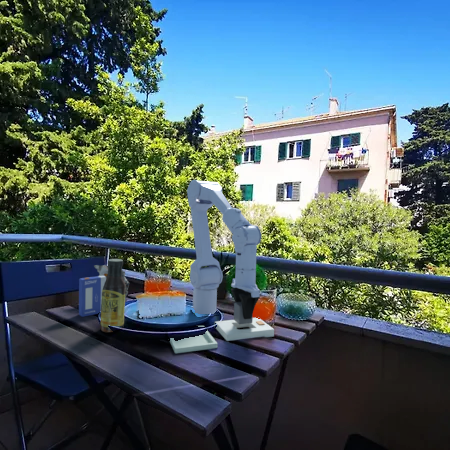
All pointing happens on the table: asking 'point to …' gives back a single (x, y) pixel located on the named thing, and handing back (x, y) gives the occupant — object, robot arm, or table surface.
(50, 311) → the table surface
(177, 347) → the tray
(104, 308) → the sauce bottle
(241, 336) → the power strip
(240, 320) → the plug
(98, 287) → the walkman
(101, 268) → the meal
